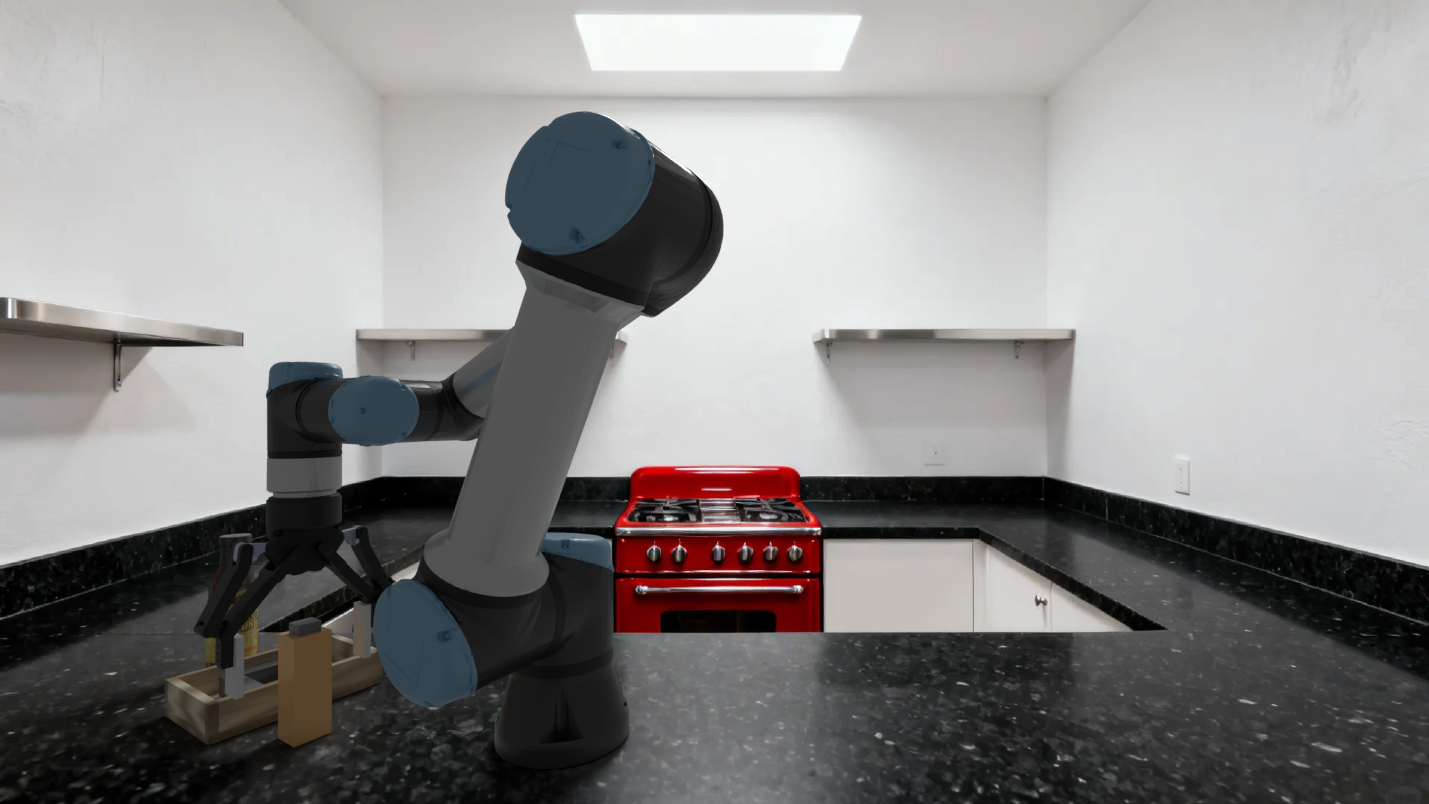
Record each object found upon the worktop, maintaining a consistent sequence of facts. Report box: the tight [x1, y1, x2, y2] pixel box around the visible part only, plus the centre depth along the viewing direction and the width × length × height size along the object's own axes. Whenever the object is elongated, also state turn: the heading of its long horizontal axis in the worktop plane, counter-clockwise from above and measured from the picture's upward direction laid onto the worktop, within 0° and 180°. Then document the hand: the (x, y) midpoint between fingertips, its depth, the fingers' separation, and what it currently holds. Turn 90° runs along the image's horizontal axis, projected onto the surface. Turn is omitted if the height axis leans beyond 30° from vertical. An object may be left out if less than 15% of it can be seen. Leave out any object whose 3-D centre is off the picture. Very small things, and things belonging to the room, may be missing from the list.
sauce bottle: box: [204, 532, 259, 668], centre depth 95 cm, size 7×6×20 cm
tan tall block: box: [277, 616, 333, 748], centre depth 74 cm, size 4×4×13 cm
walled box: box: [164, 632, 383, 746], centre depth 84 cm, size 14×20×4 cm
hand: (302, 674), depth 74 cm, fingers open, 13 cm apart
